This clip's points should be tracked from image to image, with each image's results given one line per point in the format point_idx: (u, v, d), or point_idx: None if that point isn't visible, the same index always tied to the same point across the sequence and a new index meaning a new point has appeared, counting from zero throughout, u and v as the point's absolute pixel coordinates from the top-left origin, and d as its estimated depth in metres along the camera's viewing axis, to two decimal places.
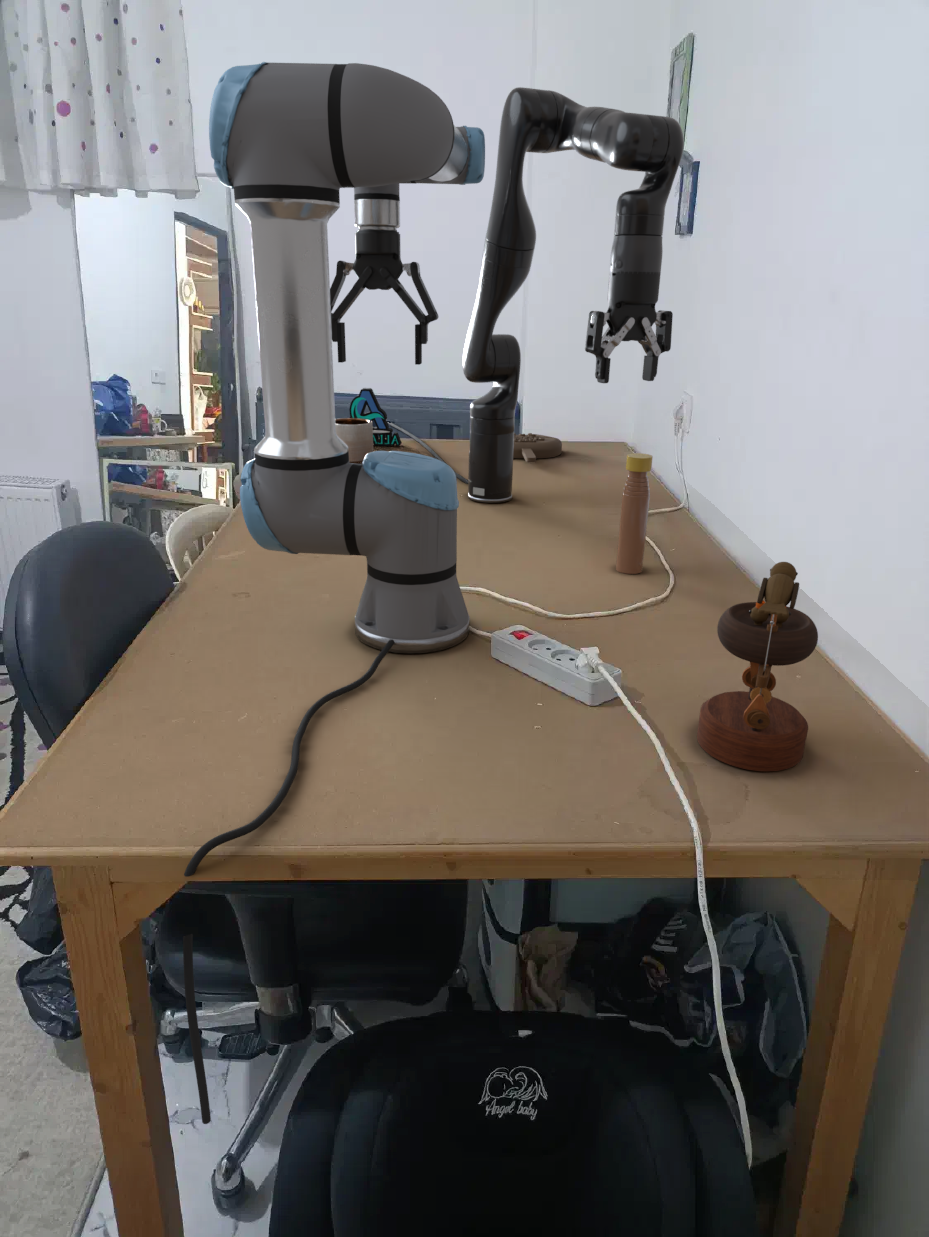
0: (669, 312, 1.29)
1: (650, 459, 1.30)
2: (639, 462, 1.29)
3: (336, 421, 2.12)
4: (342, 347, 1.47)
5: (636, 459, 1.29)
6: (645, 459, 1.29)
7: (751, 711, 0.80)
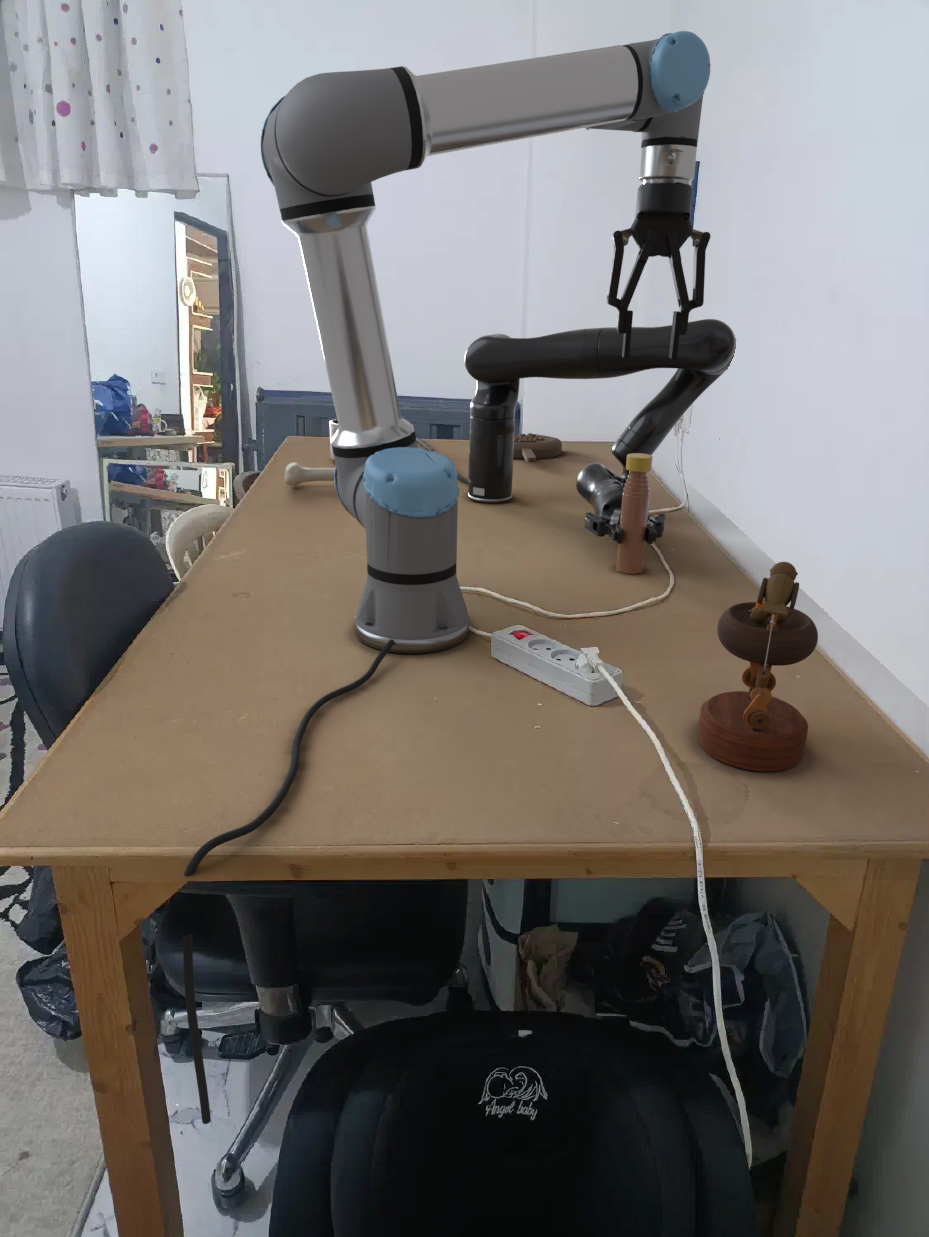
0: None
1: (650, 459, 1.30)
2: (639, 462, 1.29)
3: (336, 421, 2.12)
4: (671, 340, 1.25)
5: (636, 459, 1.29)
6: (645, 459, 1.29)
7: (751, 711, 0.80)
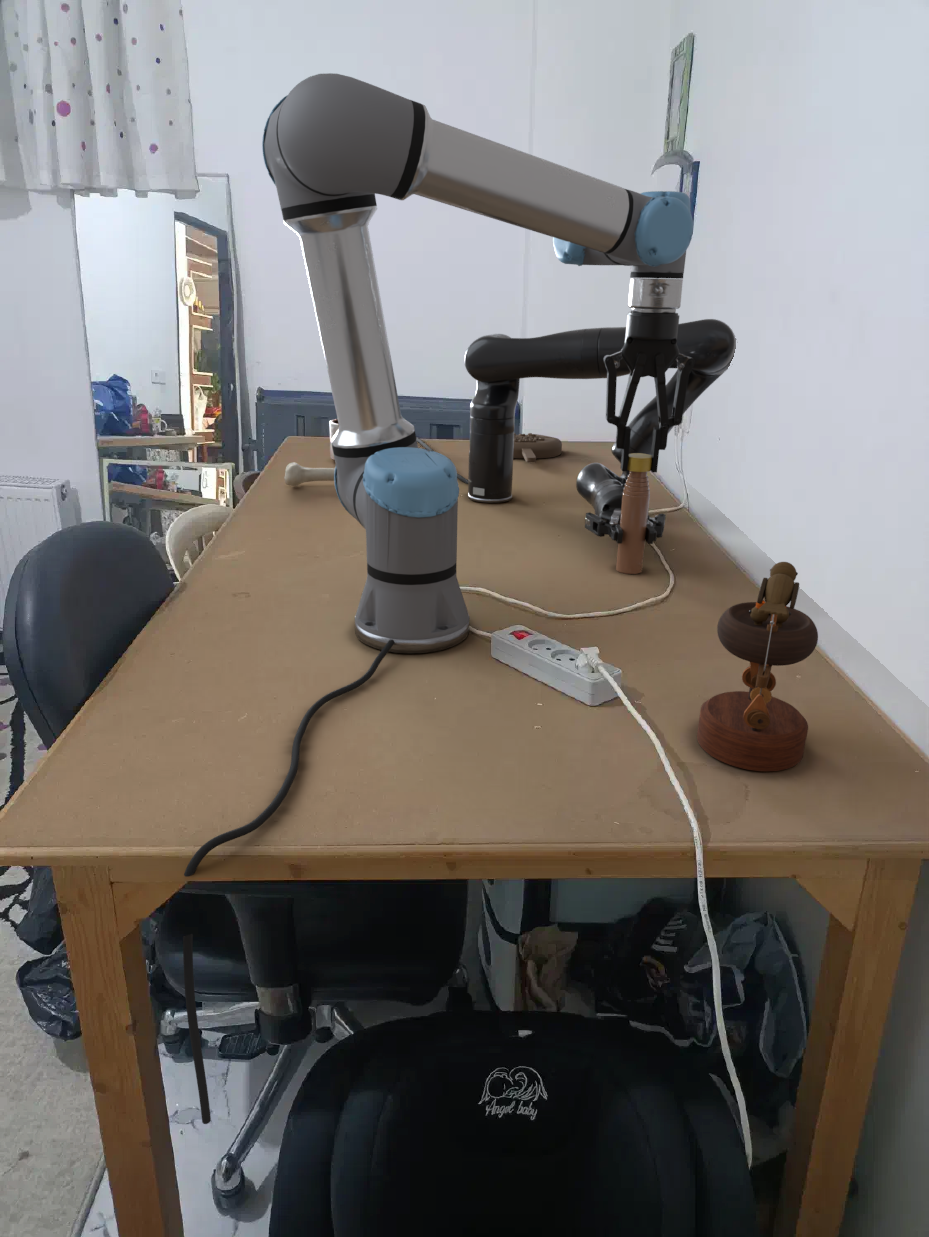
0: None
1: (650, 459, 1.30)
2: (639, 462, 1.29)
3: (336, 421, 2.12)
4: (651, 453, 1.31)
5: (636, 459, 1.29)
6: (645, 459, 1.29)
7: (751, 711, 0.80)
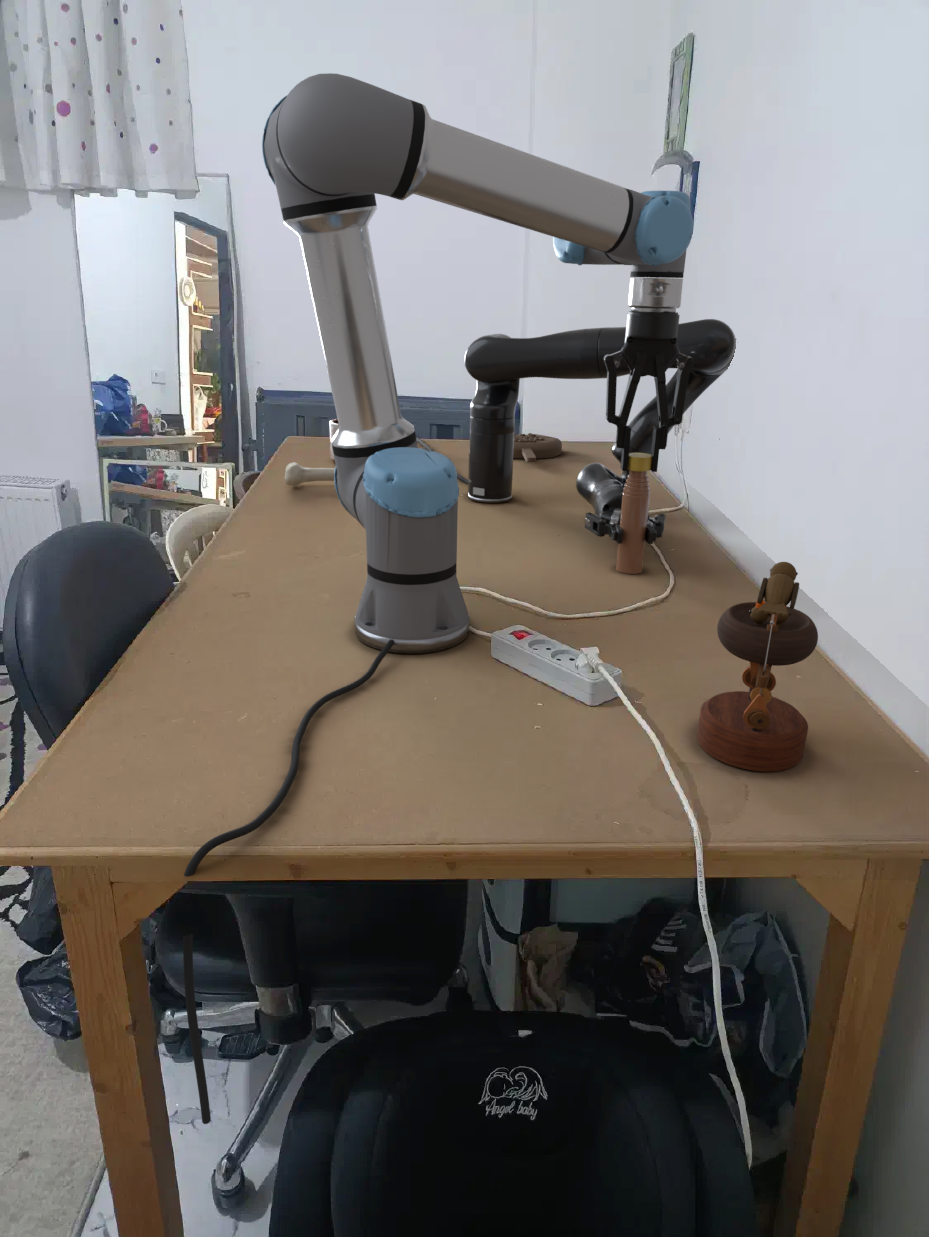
0: None
1: None
2: None
3: (336, 421, 2.12)
4: (651, 453, 1.31)
5: (652, 457, 1.31)
6: None
7: (751, 711, 0.80)
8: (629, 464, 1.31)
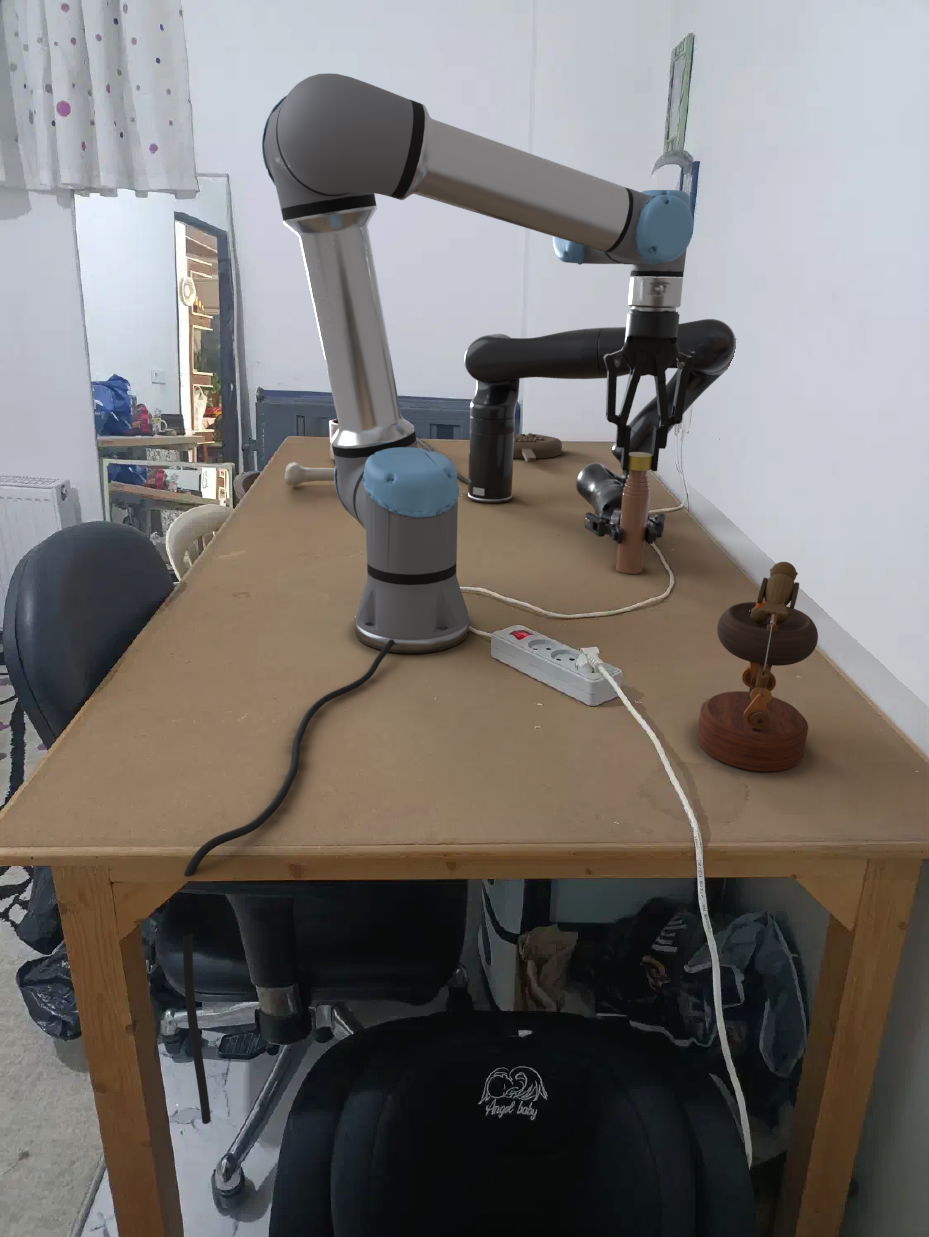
0: None
1: None
2: None
3: (336, 421, 2.12)
4: (651, 452, 1.31)
5: None
6: (629, 453, 1.32)
7: (751, 711, 0.80)
8: (649, 464, 1.30)
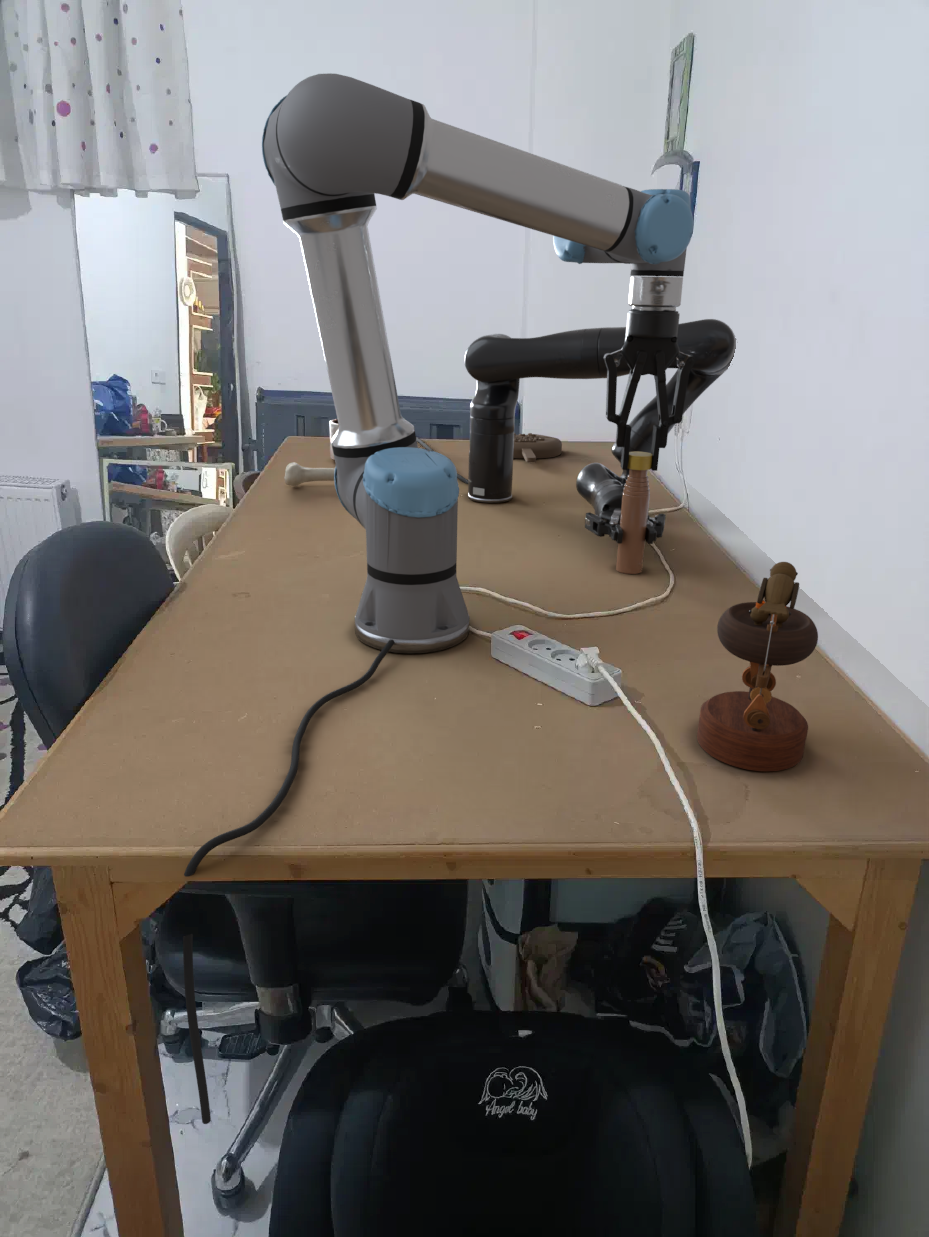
0: None
1: (643, 458, 1.29)
2: (630, 459, 1.30)
3: (336, 421, 2.12)
4: (651, 451, 1.31)
5: (629, 456, 1.30)
6: (636, 457, 1.29)
7: (751, 711, 0.80)
8: None
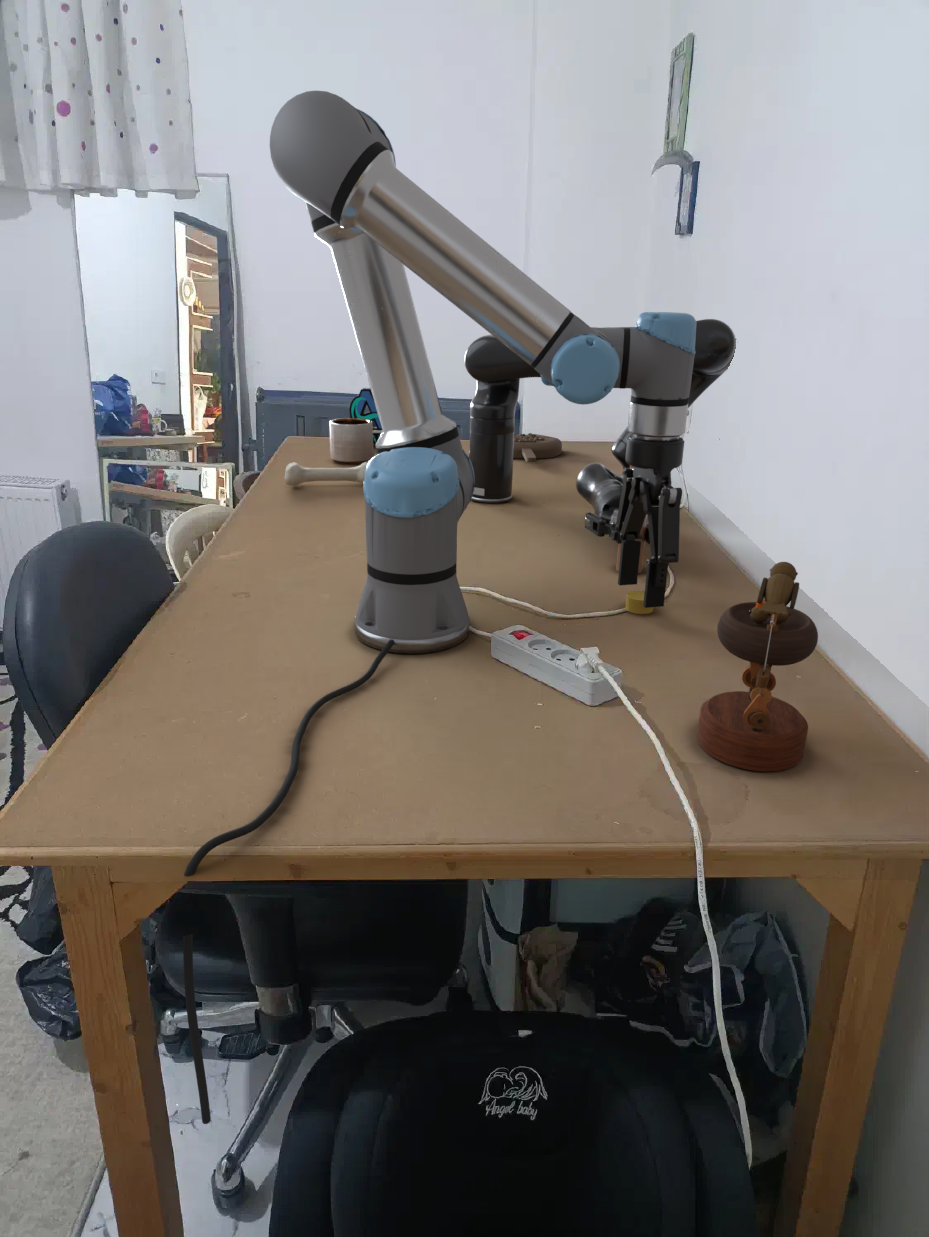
0: None
1: None
2: None
3: (336, 421, 2.12)
4: (624, 569, 1.24)
5: None
6: None
7: (751, 711, 0.80)
8: (626, 602, 1.22)
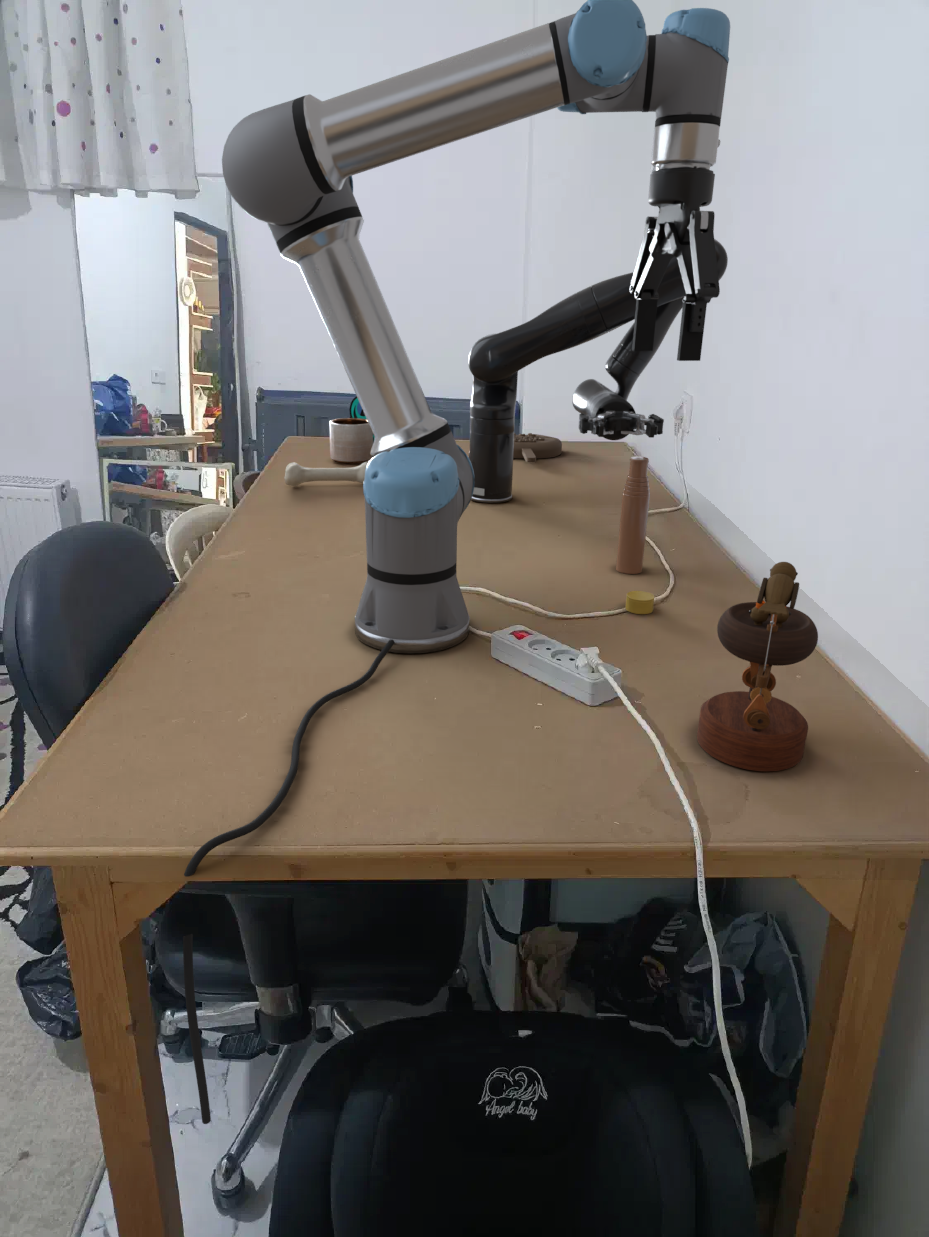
0: None
1: None
2: (652, 602, 1.20)
3: (336, 421, 2.12)
4: (640, 331, 1.13)
5: (650, 601, 1.20)
6: None
7: (751, 711, 0.80)
8: (626, 602, 1.22)
